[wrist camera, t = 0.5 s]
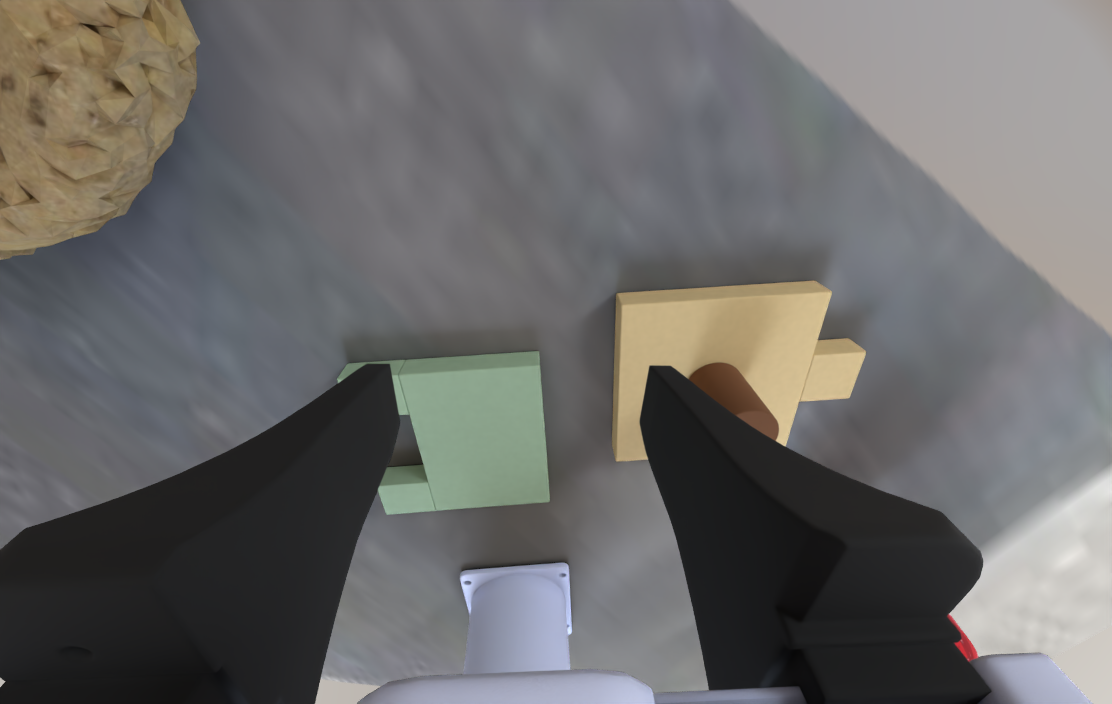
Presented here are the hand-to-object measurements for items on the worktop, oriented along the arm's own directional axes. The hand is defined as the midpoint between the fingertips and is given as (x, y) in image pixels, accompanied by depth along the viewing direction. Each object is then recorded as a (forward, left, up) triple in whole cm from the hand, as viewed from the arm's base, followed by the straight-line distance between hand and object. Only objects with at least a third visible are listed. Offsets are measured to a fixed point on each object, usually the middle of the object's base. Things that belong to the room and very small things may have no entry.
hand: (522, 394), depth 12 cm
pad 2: (-6, -11, -10) cm, 16 cm away
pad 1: (-9, +5, -10) cm, 14 cm away
